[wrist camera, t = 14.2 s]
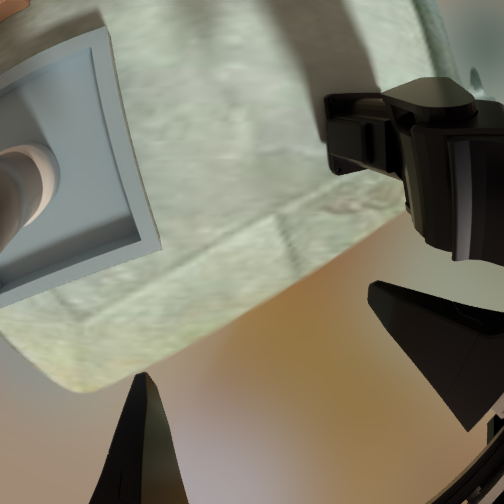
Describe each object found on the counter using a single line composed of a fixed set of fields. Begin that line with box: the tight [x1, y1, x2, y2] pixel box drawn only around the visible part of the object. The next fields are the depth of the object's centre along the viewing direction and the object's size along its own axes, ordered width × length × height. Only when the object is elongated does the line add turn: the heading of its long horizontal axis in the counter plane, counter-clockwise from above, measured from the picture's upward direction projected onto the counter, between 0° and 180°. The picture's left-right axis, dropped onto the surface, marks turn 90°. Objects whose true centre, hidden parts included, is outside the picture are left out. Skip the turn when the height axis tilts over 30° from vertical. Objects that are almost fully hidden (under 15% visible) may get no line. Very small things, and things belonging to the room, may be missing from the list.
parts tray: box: [0, 26, 162, 308], centre depth 13 cm, size 14×14×2 cm
